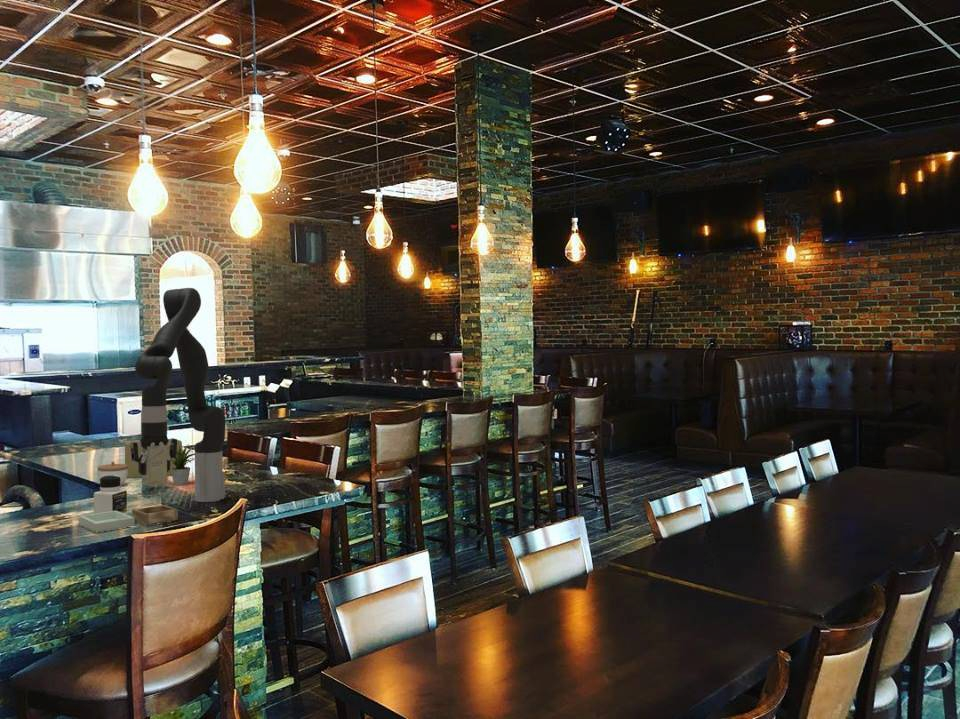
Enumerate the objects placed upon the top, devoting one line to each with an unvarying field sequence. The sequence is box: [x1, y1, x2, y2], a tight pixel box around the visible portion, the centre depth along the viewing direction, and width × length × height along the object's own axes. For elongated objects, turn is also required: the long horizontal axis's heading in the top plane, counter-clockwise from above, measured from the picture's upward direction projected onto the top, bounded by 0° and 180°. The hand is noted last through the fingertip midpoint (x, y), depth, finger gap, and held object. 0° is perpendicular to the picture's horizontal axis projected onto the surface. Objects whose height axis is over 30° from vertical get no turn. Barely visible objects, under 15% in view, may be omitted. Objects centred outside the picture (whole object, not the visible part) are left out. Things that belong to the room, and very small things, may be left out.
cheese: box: [124, 439, 184, 479], centre depth 319 cm, size 22×10×15 cm, turn 95°
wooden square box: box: [131, 504, 179, 527], centre depth 239 cm, size 10×10×4 cm
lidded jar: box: [97, 461, 128, 487], centre depth 297 cm, size 11×11×9 cm
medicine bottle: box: [93, 475, 128, 514], centre depth 251 cm, size 7×7×12 cm
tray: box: [78, 511, 135, 534], centre depth 233 cm, size 11×14×3 cm
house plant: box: [168, 443, 195, 486], centre depth 300 cm, size 14×14×16 cm
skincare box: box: [141, 445, 168, 487], centre depth 239 cm, size 6×4×12 cm
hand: (154, 473), depth 239 cm, fingers closed on skincare box, 6 cm apart
